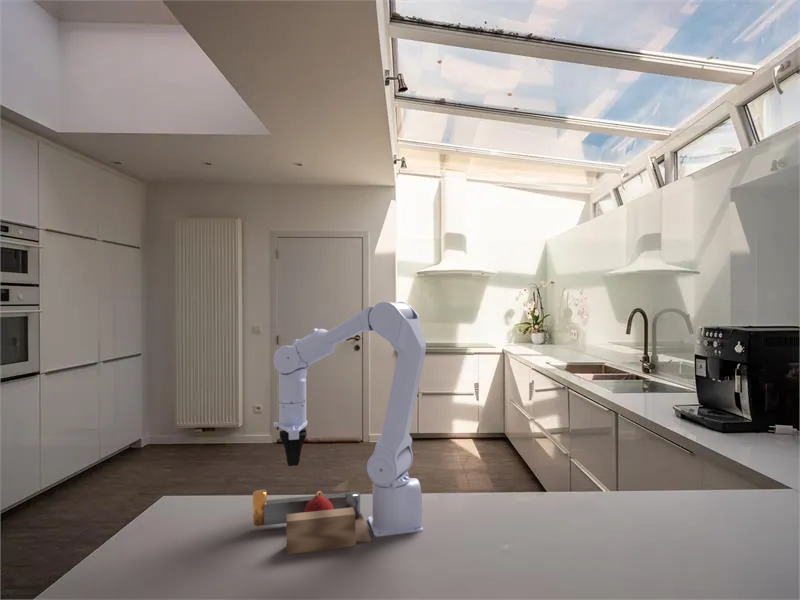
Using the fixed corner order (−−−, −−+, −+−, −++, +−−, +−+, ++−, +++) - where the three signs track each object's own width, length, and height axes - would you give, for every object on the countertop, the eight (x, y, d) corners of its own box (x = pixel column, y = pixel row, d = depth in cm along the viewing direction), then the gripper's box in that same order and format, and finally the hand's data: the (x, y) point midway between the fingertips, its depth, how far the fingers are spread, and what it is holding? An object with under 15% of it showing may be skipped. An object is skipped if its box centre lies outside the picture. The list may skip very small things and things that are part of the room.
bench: (360, 514, 99) (360, 485, 99) (372, 545, 86) (371, 512, 86) (286, 522, 96) (286, 492, 96) (286, 556, 83) (286, 521, 83)
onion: (328, 543, 87) (327, 499, 87) (298, 540, 88) (298, 496, 88) (338, 528, 93) (338, 487, 93) (310, 526, 94) (310, 485, 94)
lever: (359, 510, 99) (358, 480, 99) (361, 516, 96) (361, 486, 96) (253, 520, 94) (253, 489, 94) (252, 528, 91) (252, 495, 91)
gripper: (273, 396, 109) (274, 456, 108) (273, 409, 95) (273, 478, 94) (305, 394, 110) (305, 453, 110) (309, 407, 96) (309, 474, 96)
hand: (293, 464), depth 102 cm, fingers closed
